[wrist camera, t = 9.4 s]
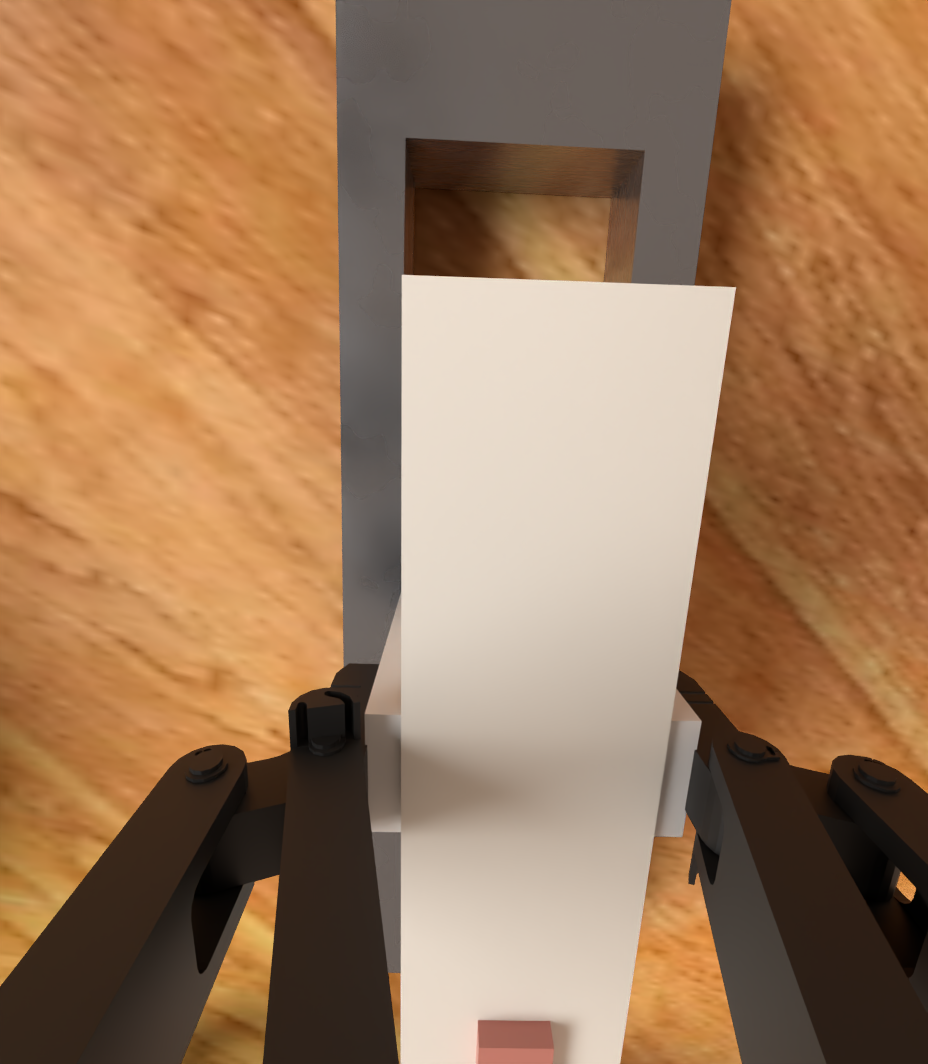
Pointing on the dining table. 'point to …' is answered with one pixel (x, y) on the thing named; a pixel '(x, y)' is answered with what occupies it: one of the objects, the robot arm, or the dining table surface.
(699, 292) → the cream block with pegs
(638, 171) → the keyhole plate
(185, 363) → the dining table surface
